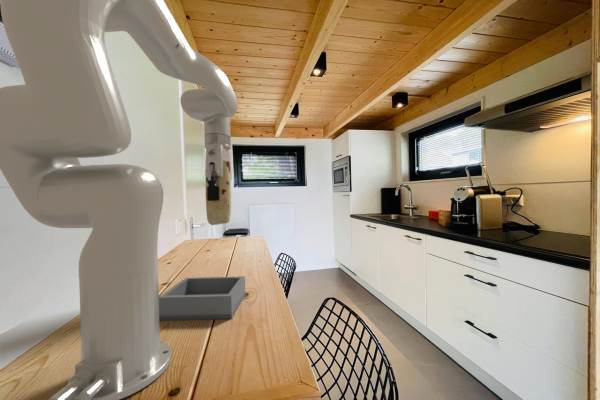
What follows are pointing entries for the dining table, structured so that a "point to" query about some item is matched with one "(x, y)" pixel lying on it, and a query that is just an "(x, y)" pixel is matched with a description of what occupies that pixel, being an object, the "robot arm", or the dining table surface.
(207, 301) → the bin
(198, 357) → the dining table surface
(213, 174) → the food model
